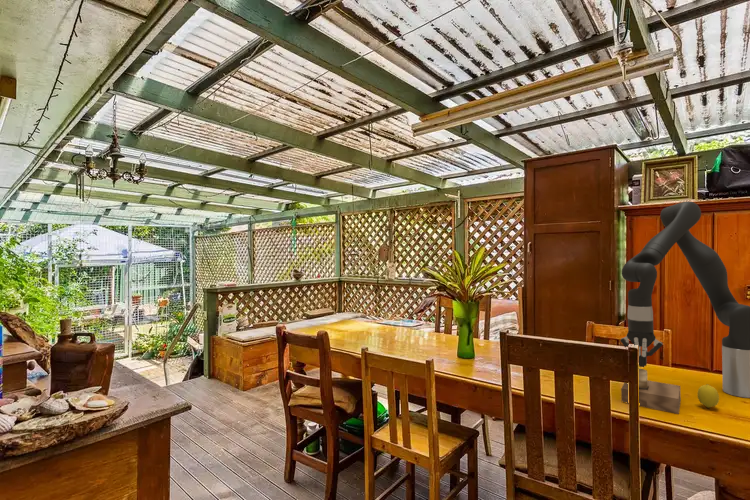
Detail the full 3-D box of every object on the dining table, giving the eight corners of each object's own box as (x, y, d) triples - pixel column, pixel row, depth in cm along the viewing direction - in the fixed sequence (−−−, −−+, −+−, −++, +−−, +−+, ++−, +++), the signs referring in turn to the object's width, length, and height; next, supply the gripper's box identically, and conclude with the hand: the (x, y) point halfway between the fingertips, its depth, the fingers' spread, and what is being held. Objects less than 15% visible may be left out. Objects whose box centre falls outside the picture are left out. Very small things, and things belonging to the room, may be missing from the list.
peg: (648, 400, 138) (647, 369, 138) (647, 404, 135) (646, 372, 135) (634, 397, 141) (633, 367, 141) (632, 401, 138) (632, 370, 138)
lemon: (697, 403, 135) (697, 380, 135) (718, 407, 132) (718, 383, 132) (697, 408, 131) (697, 385, 131) (719, 412, 127) (719, 388, 127)
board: (680, 399, 138) (680, 385, 138) (678, 414, 127) (678, 398, 127) (627, 389, 149) (627, 376, 149) (621, 402, 137) (621, 388, 137)
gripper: (663, 318, 137) (665, 366, 137) (620, 315, 145) (621, 360, 145) (662, 321, 131) (664, 372, 131) (617, 318, 140) (618, 365, 140)
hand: (641, 366), depth 138 cm, fingers closed
